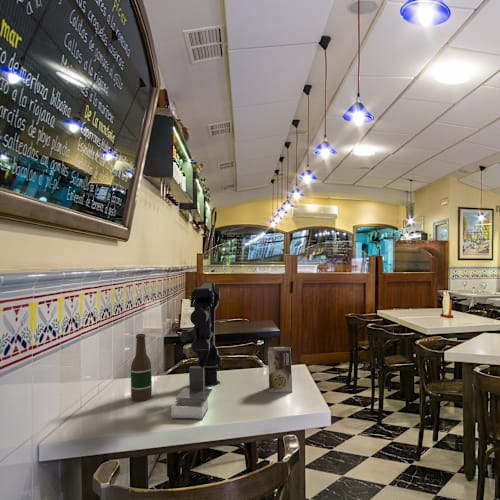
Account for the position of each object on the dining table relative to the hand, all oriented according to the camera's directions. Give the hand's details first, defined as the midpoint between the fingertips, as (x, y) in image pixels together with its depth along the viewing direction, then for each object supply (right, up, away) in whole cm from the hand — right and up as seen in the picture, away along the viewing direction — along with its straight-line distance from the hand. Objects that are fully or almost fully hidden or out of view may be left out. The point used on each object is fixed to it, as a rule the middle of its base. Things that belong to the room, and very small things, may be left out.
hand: (204, 363), depth 138 cm
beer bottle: (-24, -14, +2) cm, 28 cm away
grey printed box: (+29, -13, +8) cm, 33 cm away
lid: (-2, -8, -8) cm, 12 cm away
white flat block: (-3, -13, -14) cm, 19 cm away
